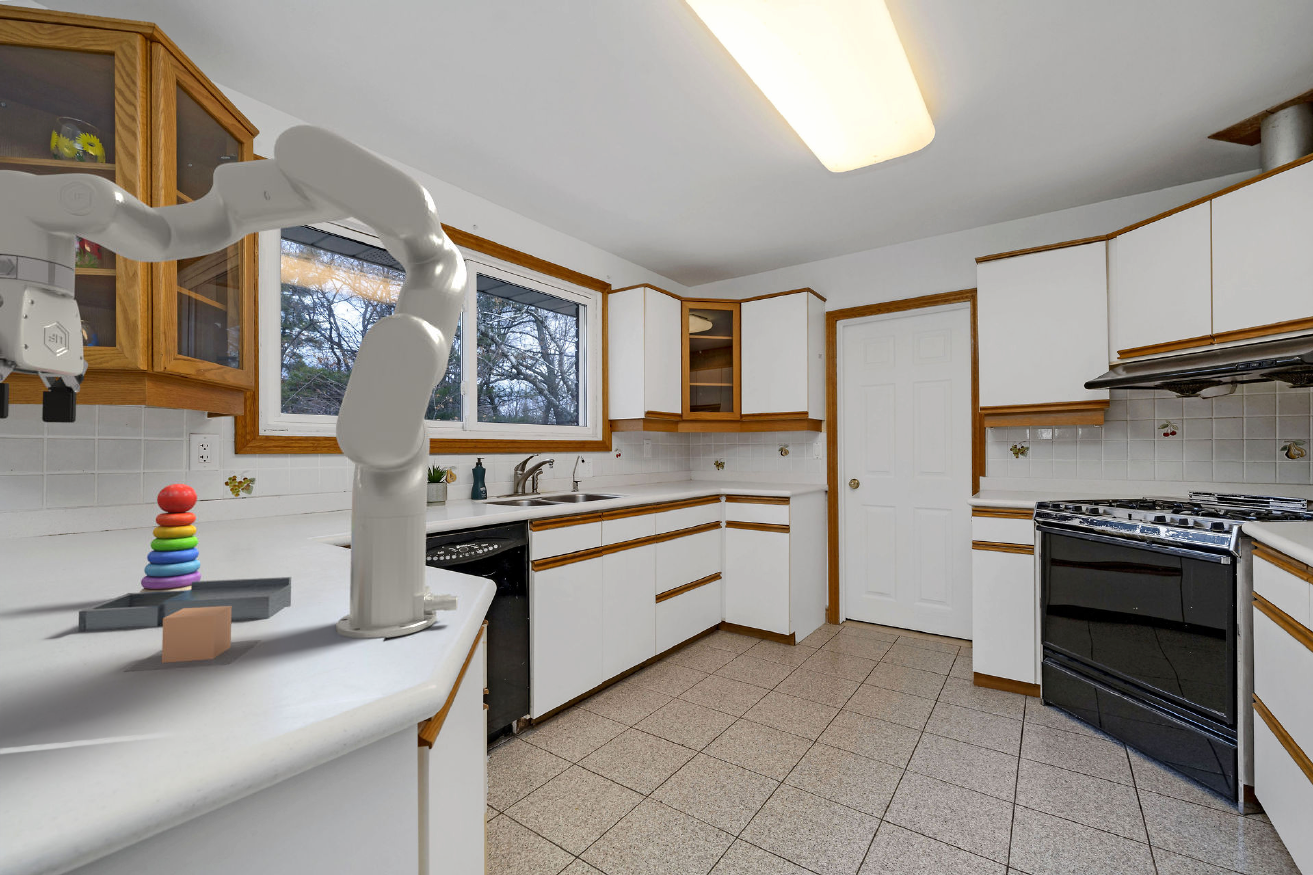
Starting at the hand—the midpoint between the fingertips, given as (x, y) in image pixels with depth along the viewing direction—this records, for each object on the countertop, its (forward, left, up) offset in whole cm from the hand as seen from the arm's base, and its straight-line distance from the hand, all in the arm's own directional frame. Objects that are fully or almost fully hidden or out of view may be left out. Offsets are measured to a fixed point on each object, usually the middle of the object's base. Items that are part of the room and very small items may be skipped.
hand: (26, 420), depth 67 cm
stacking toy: (-2, -25, -28) cm, 38 cm away
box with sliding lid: (-12, -11, -28) cm, 33 cm away
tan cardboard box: (-21, +7, -28) cm, 36 cm away
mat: (-21, +7, -28) cm, 36 cm away
